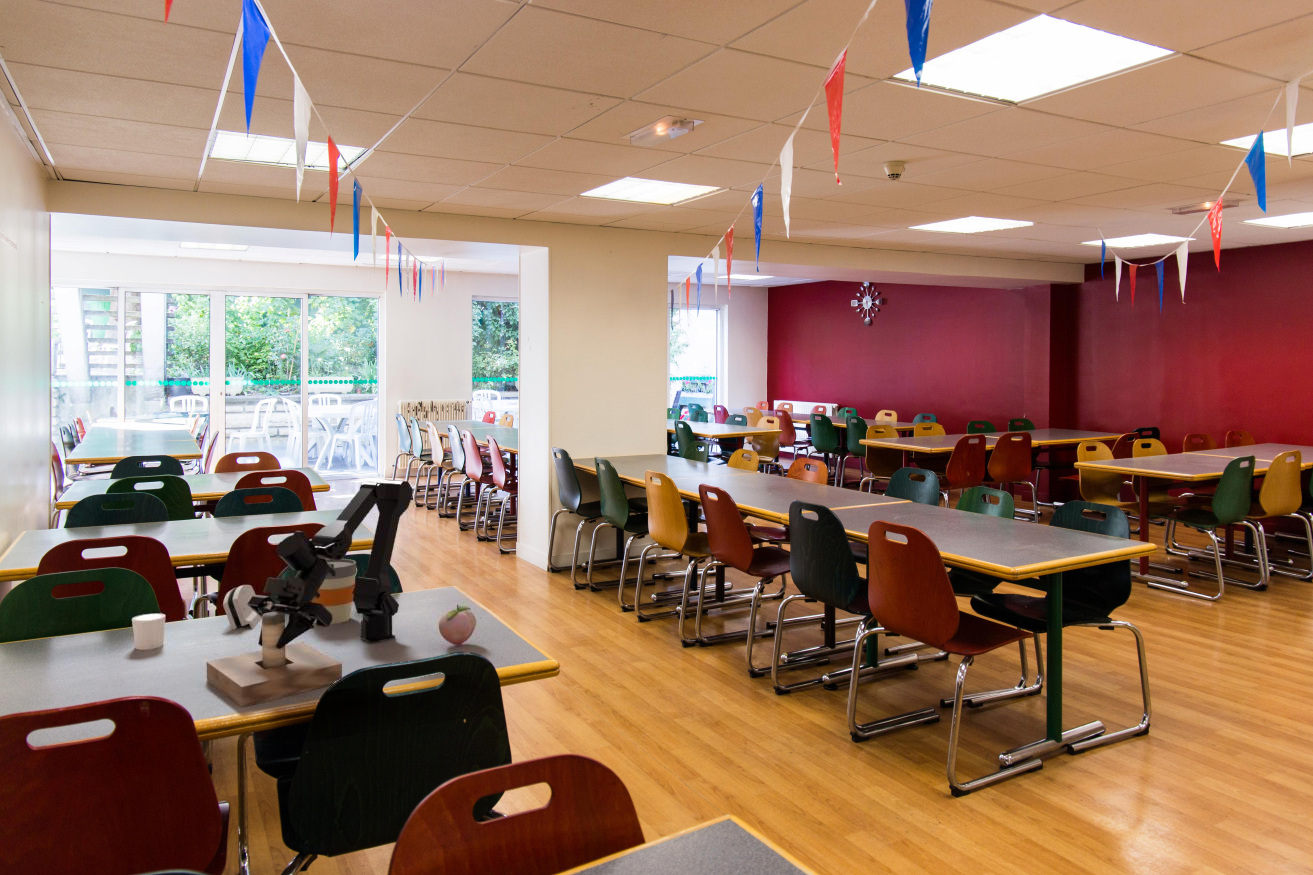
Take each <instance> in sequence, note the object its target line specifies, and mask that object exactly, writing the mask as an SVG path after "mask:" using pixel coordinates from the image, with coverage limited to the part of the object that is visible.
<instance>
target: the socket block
mask: <svg viewBox="0 0 1313 875" xmlns="http://www.w3.org/2000/svg"><path fill="white" fill-rule="evenodd" d="M285 656H286V665H283V666H279V667H274V668H270V669H263V659H262V650H257V651H254V652H253V651H252V652H247V653H243V654H238V655H237V654H236V655H232V656H228V657H223V658H218V659H213V660H208V661H206V681H207V682H208V683H210V684H211V685H212V686H214V687H215V688H216V689H218V690H219V691H220V692H221V693H222V694H224V695H225V696H226V697H228V698H229V699H231V700H232V701H233V702H235V704H237V705H239V706H240V707H241V708H244V707H248V706H251V705H256V704H261V703H264V702H268V701H273V700H277V699H280V698H284V697H287V696H288V697H289V696H293V695H297V694H300V693H304V692H309V691H313V690H317V689H320V688H324V687H329V685H330V686H332V685H331V684H333V683H334V682H335V681H337V680H339V679H341V678H342V679H343V663H342V662H339V661H338V660H336V659H334V658H332V657H330V656H328V655H327V654H324V653H323V652H321V651H319V650H318V649H316V648H313V647H312V646H311V645H308V644H306V643H304V642H303V641H301V642H297V643H296V642H295V643H291V644H287V645H285Z"/></svg>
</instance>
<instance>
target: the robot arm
mask: <svg viewBox="0 0 1313 875" xmlns="http://www.w3.org/2000/svg"><path fill="white" fill-rule="evenodd" d="M413 493H414V491H413V487H412V486H411V484H410V482H409V481H406V480H397V479H396V480H394V479H384V480H382V481H381V482H375V481H365V482H363V483H362V484H361V485H360V487H359V490H358V491H357V493H355V495H354V496H353V497H352V499H351V500H350V501H349V502H348V504H347V506H345V508H344V509H343V510H342V511H341V512H340V514H339V515H338V517H337V518H336V519H335V520H334V521H333V522H331V523H330V524H328V525H325V526H323V527H322V528H321V529H320V530H319V531H318V532H316V533H315V534H314V535H313V537H312V538H311V539H309V538H308V536H307V535H306V533H305V532H304V531H300V530H295V531H294V532H293V534H292V535H289V536H287V537H286V538H283V540H282V541H280V542H278V545H277V547H276V555H278V556H279V557H280V559H282V560H283V561H284V562H285V563H286V564H287V565H288V566H289V568H291V570H293V571H296V572H297V571H298V572H297V573H296V574H295V576H294V577H293V576H291V577H290V578H288V579H281V578H273V577H267V580H266V581H265V582H266V583H265V586H264V589H263V593H264V594H271V595H274V599H275V600H276V601H278V602H279V603H276V601H274V600H273V599H272V598H271V597H270V596H267V595H261V594H256V595H255V596H252V598H251V599H250V601H249V602H248V604H247V605H248V606H249V607H250V608H251V609H252V610H253V611H255V612H256V613H257V614H258V615H259V616H260V617H262V615H263V614H265V613H269V612H284V613H285V615H286V616H287V615H288V623H287V624H286V625H285V629H284V631H283V633H282V635H281V637H280V638H279V640H278V643H277V645H276V647H277V648H278V649H281V648H282V647H284V646H286V645H289V643H291V642H292V641H293V640H295V639H296V638H298V637H299V636H301V635H302V634H304V633H306V632H308V631H309V630H314V628H315V625H314V623H315V620H316V623H315V624H316V626H317V627H319V628H320V627H321V628H327V629H328V628H329V627H330V625H331V624H330V623H331V622H332V614H331V613H330V612H329V611H328V610H327V609H326V608H325V607H324V606H323V605H322V604H320V603H313V602H312V600H313V599H314V598H317V599H318V598H319V597H320V594H319V593H318V590H319V589H320V587H321V585H322V583H323V582H324V580H325V578H326V577H327V576H333V577H334V576H336V572H335V570H334V564H328V562H327V561H326V560H325V559H333V560H339V559H344V557H345V556H346V555H347V553H348V551H349V550H350V548H351V546H352V544H353V536H354V534H355V532H356V530H357V529H358V528H359V526H361V524H362V522H363V521H364V520H365V518H366V517H367V515H369V513H370V512H371V510H372V509H373V508H374V506H375V505H376V508H377V511H378V519H377V522H376V527H375V532H374V537H373V540H372V545H371V546H372V547H371V551H370V553H369V554H370V555H369V558H368V559H369V560H368V564H367V568H366V571H365V573H364V574H363V575H362V576H361V577H360V576H357V577H356V578H355V587H354V590H353V592H352V594H354V595H353V601H352V603H353V604H354V606H355V610H356V613H357V614H359V615H362V620H361V621H360V635H359V638H360V639H362V640H364V641H366V642H368V643H370V644H374V643H378V642H382V641H388V640H393V639H395V638H396V636H397V635H395V634H393V617H394V616H395V614H398V612H399V607H400V604H399V603H398V601H397V600H396V599H395V598H394V597H393V595H392V587H393V586H392V584H391V579H390V577H389V570H390V565H391V561H392V556H393V551H394V547H395V541H396V536H397V532H398V527H399V523H400V518H401V517H402V515H403V514H404V513H405V512H406V511H407V510H408V508H409V506H410V504H411V500H412V497H413ZM258 646H260V647H262V627H261V628H260V634H259V638H258Z"/></svg>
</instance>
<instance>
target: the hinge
mask: <svg viewBox="0 0 1313 875" xmlns="http://www.w3.org/2000/svg"><path fill="white" fill-rule="evenodd" d="M255 592H256V591H254V588H253V586H252V585H250V584H242V585H240V586H238V587H234V588H232V589H231V590H229V591H228V592H226V594H225V596H224V599H223V603H222V606H223V609H224V611H225V614H226V616H227V621H228V622H229V625H230V627H231V630H236V629H237V628H239V627H240V626H241V627H244V626H247V625H249V627H250V628H251V629H254V628H255V627H256V626H257V625H258V623H260V621H262V617H260V616H259V615H258V614H257V613H256V612H255V611H253V610H252V609H251V608H250V607H249V606H248V605H247V604H248V602H249V601H250V599H251V598H252V596H255V595H257V594H256V593H255Z"/></svg>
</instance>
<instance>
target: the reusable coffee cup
mask: <svg viewBox="0 0 1313 875" xmlns="http://www.w3.org/2000/svg"><path fill="white" fill-rule="evenodd" d="M325 560H326V561H327V562H328V564H334V570H335V572H336V576H334V577H333V576H327V577H326V578H325V580H324V582H323V583H322V585H321V587H320V589H319V590H318V593H319V594H320V597H319V598H318V599H317V598H314V599H313V600H312V602H313V603H320V604H322V605H323V606H324V607H325V608H326V609H327V610H328V611H329V612H330V613H331V614H332V622H331V623H330V625H336V624H335V623H338V624H343V623H346V622H348V621H350V620H349V619H351V613H352V605H353V595H354V594H352V592H353V590H354V587H355V580H356V575H357V573H358V570H357V561H356V560H353V559H350V558H349V559H348V558H342V559H339V560H333V559H325ZM345 621H346V622H345ZM342 622H343V623H342ZM314 623H315V624H316V620H315V622H314Z"/></svg>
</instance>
